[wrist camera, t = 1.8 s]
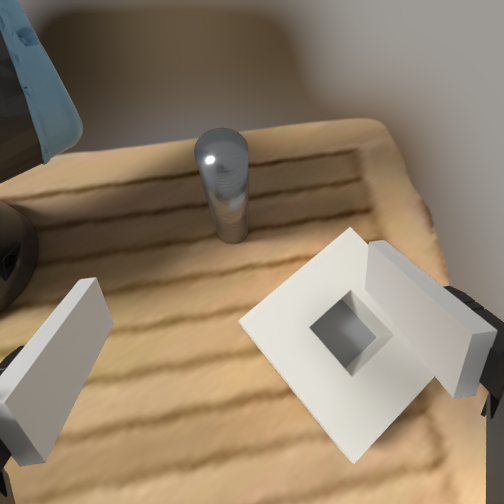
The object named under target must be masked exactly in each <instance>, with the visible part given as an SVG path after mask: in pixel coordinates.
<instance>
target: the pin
mask: <svg viewBox="0 0 504 504" xmlns="http://www.w3.org/2000/svg"><path fill="white" fill-rule="evenodd" d="M194 154H195V158H196V162H197V165H198V169H199V172H200V176H201V180H202V183H203V187H204V190H205V194H206V198H207V201H208V205H209V208H210V212H211V215H212V219H213V223H214V226H215V230H216V233H217V236H218V237H219V239H220V240H221V241H223V242H224V243H227V244H237V243H240V242H241V241H243V240H244V239H245V238H246V236H247V234H248V231H249V202H248V145H247V142H246V140H245V139H244V137H243V136H242V135H241V134H239V133H238V132H236V131H234V130H231V129H227V128H217V129H213V130H210V131H208V132H206V133H204V134H203V135H202V136H201V137H200V138H199V139H198V141H197V142H196V145H195V149H194Z"/></svg>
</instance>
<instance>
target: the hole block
mask: <svg viewBox="0 0 504 504" xmlns="http://www.w3.org/2000/svg"><path fill="white" fill-rule="evenodd" d="M368 248H369V245H368V244H367V243H366V242H365V241H364V240H363V239H362V238H361V237H360V236H359V235H358V234H357V233H356V232H355V231H354V230H353V229H352V228H351V227H349V228H348V229H347V230H346V231H345V232H343V233H342V234H341V235H340V236H339V237H337V238H336V239H335V240H334V241H333V242H331V243H330V244H329V245H328V246H327V247H326V248H324V249H323V250H322V251H321V252H320V253H318V254H317V255H316V256H315V257H314V258H312V259H311V260H310V261H309V262H308V263H306V264H305V265H304V266H303V267H302V268H300V269H299V270H298V271H297V272H296V273H295V274H293V275H292V276H291V277H290V278H289V279H287V280H286V281H285V282H284V283H283V284H281V285H280V286H279V287H278V288H277V289H275V290H274V291H273V292H272V293H271V294H269V295H268V296H267V297H266V298H265V299H264V300H262V301H261V302H260V303H259V304H258V305H256V306H255V307H254V308H253V309H252V310H250V311H249V312H248V313H247V314H246V315H244V316H243V317H242V318H241V319H240V320H239V324H240V326H241V327H242V328H243V330H244V331H245V332H246V333H247V335H248V336H249V337H250V338H251V340H252V341H253V342H254V343H255V345H256V346H257V347H258V348H259V350H260V351H261V352H262V353H263V355H264V356H265V357H266V358H267V360H268V361H269V362H270V363H271V365H272V366H273V367H274V368H275V370H276V371H277V372H278V373H279V375H280V376H281V377H282V378H283V380H284V381H285V382H286V383H287V385H288V386H289V387H290V388H291V390H292V391H293V392H294V393H295V395H296V396H297V397H298V398H299V400H300V401H301V402H302V403H303V405H304V406H305V407H306V408H307V410H308V411H309V412H310V413H311V415H312V416H313V417H314V418H315V420H316V421H317V422H318V423H319V425H320V426H321V427H322V428H323V430H324V431H325V432H326V433H327V435H328V436H329V437H330V439H331V440H332V441H333V442H334V444H335V445H336V446H337V447H338V448H339V449H340V450H341V451H342V453H343V454H344V455H345V456H346V457H347V458H348V459H349V460H350V461H351V462H352V463H353V464H354V463H355V462H356V461H357V460H358V459H359V458H360V457H361V456H362V455H363V453H364V452H365V451H366V450H367V449H368V448H369V447H370V446H371V445H372V444H373V443H374V442H375V441H376V439H377V438H378V437H379V436H380V435H381V434H382V433H383V432H384V431H385V430H386V429H387V428H388V426H389V425H390V424H391V423H392V422H393V421H394V420H395V419H396V418H397V417H398V416H399V415H400V414H401V412H402V411H403V410H404V409H405V408H406V407H407V406H408V405H409V404H410V403H411V402H412V401H413V399H414V398H415V397H416V396H417V395H418V394H419V393H420V392H421V391H422V390H423V389H424V388H425V387H426V385H427V384H428V383H429V382H430V381H431V380H432V379H433V378H434V377H435V376H434V375H433V373H432V372H431V371H430V370H429V368H428V367H427V366H426V365H425V363H424V362H423V361H422V360H421V358H420V357H419V356H418V355H417V353H416V352H415V351H414V350H413V348H412V347H411V346H410V345H409V343H408V342H407V341H406V340H405V338H404V337H403V336H402V335H401V333H400V332H399V331H398V330H397V328H396V327H395V326H394V325H393V323H392V322H391V321H390V320H389V319H388V317H387V316H386V315H385V314H384V312H383V311H382V310H381V309H380V307H379V306H378V305H377V304H376V302H375V301H374V300H373V299H372V297H371V296H370V295H369V294H368V292H367V291H366V290H365V283H366V271H367V259H368Z"/></svg>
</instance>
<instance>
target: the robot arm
mask: <svg viewBox="0 0 504 504" xmlns="http://www.w3.org/2000/svg"><path fill="white" fill-rule="evenodd" d="M82 131H83V127H82V122H81V119H80V117H79V115H78V112H77V110H76V108H75V106H74V104H73V103H72V100H71V99H70V97H69V95H68V93H67V91H66V89H65V87H64V85H63V83H62V81H61V79H60V78H59V76H58V74H57V72H56V70H55V68H54V66H53V64H52V62H51V61H50V59H49V57H48V55H47V53H46V52H45V50H44V48H43V46H42V45H41V43H40V42H39V40H38V38H37V35H36V33H35V32H34V30H33V28H32V26H31V25H30V23H29V21H28V19H27V17H26V15H25V13H24V11H23V9H22V7H21V6H20V4H19V2H18V0H0V183H2V182H4V181H7V180H9V179H11V178H13V177H15V176H17V175H19V174H21V173H23V172H25V171H28V170H30V169H32V168H34V167H36V166H38V165H40V164H44V165H45V164H47V163H48V162H49V161H50V158H52V157H54V156H56V155H57V154H59V153H61V152H63V151H65V150H67V149H68V148H70V147H72V146H74V145H75V144H76V143H77V142H78V141H79V140H80V138H81V135H82ZM37 256H38V241H37V236H36V233H35V230H34V228H33V226H32V224H31V223H30V222H29V220H28V219H27V218H26V217H25V216H24V215H23V214H21V213H20V212H19V211H17V210H15V209H14V208H12V207H10V206H9V205H7V204H5V203H3V202H1V201H0V312H1V311H2V310H4V309H5V308H6V307H7V306H9V305H10V304H11V303H12V302H13V301H14V300H15V299H16V298H17V297H18V295H19V294H20V293H21V292H22V291H23V289H24V288H25V286H26V285H27V283H28V281H29V280H30V278H31V276H32V274H33V271H34V268H35V265H36V261H37ZM365 290H366V291H367V292H368V294H369V295H370V296H371V297H372V299H373V300H374V301H375V302H376V304H377V305H378V306H379V307H380V309H381V310H382V311H383V312H384V314H385V315H386V316H387V317H388V319H389V320H390V321H391V322H392V323H393V325H394V326H395V327H396V328H397V330H398V331H399V332H400V333H401V335H402V336H403V337H404V338H405V340H406V341H407V342H408V343H409V345H410V346H411V347H412V348H413V350H414V351H415V352H416V353H417V355H418V356H419V357H420V358H421V360H422V361H423V362H424V363H425V365H426V366H427V367H428V368H429V370H430V371H431V372H432V373H433V375H434V376H435V377H436V378H437V380H438V381H439V382H440V383H441V385H442V386H443V387H444V388H445V389H446V391H447V392H448V393H449V394H450V396H451V397H452V398H453V399H455V398H462V397H468V396H475V395H476V392H477V389H478V386H479V383H481V384H482V385H483V386H484V387H485V388H486V389H487V390H488V391H489V394H488V397H487V400H486V402H485V405H484V408H483V410H482V413H481V415H482V416H484V417H485V415H486V504H504V322H502V321H501V320H500V319H499V318H497V317H496V316H495V315H493V314H492V313H491V312H489V311H488V310H486V309H484V307H483V306H481V305H480V304H479V303H477V302H475V300H473V299H472V298H471V297H469V296H468V295H467V294H465V293H464V292H462V291H460V290H457V289H455V288H453V287H451V286H445V287H443V286H441V285H440V284H439V283H438V282H436V281H435V280H434V279H433V278H431V277H430V276H429V275H428V274H426V273H425V272H424V271H423V270H421V269H420V268H419V267H418V266H416V265H415V264H414V263H413V262H411V261H410V260H409V259H408V258H406V257H405V256H404V255H403V254H401V253H400V252H399V251H398V250H396V249H395V248H394V247H393V246H391V245H390V244H389V243H387V242H386V241H385V240H380V241H372V242H369V248H368V259H367V271H366V283H365ZM113 324H114V322H113V320H112V317H111V314H110V312H109V309H108V307H107V304H106V301H105V299H104V296H103V293H102V291H101V288H100V286H99V283H98V280H97V278H96V277H94V278H86V279H80V280H79V281H78V282H77V283H76V284H75V286H74V287H73V288H72V289H71V291H70V292H69V293H68V294H67V295H66V297H65V298H64V299H63V300H62V301H61V303H60V304H59V305H58V306H57V308H56V309H55V310H54V311H53V312H52V314H51V315H50V316H49V317H48V318H47V320H46V321H45V322H44V323H43V325H42V326H41V327H40V328H39V329H38V331H37V332H36V333H35V334H34V336H33V337H32V338H31V339H30V340H29V342H28V343H27V344H26V345H24V346H20V347H18V348H17V349H16V350H14V351H13V352H12V353H11V354H9V355H8V356H7V357H5V359H4V360H3V361H2V362H1V363H0V504H15V501H14V496H13V492H12V488H11V484H10V480H9V476H8V474H7V472H6V471H5V470H4V466H5V464H6V463H7V461H8V460H9V458H10V456H11V455H12V457H13V458H14V459H15V461H16V462H17V463H18V465H19V466H26V465H32V464H39V463H45V462H46V460H47V458H48V456H49V454H50V452H51V450H52V448H53V446H54V444H55V442H56V440H57V438H58V436H59V434H60V432H61V430H62V428H63V426H64V424H65V422H66V420H67V418H68V416H69V413H70V411H71V409H72V407H73V405H74V403H75V401H76V399H77V397H78V395H79V393H80V391H81V389H82V387H83V385H84V383H85V381H86V379H87V377H88V375H89V373H90V371H91V369H92V367H93V365H94V363H95V361H96V359H97V357H98V355H99V353H100V351H101V349H102V347H103V345H104V343H105V341H106V339H107V337H108V335H109V332H110V330H111V328H112V326H113Z"/></svg>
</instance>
